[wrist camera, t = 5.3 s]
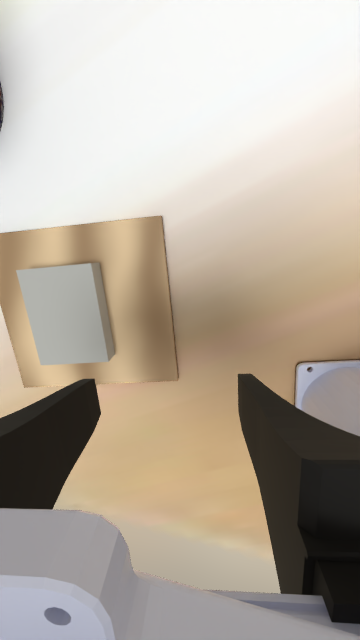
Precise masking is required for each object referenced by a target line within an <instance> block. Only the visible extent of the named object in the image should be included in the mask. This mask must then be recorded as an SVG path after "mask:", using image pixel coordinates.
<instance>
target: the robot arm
mask: <svg viewBox="0 0 360 640" xmlns="http://www.w3.org/2000/svg"><path fill="white" fill-rule="evenodd" d="M308 367H311V369H310V370H307V368H308ZM238 407H239V416H240V422H241V427H242V431H243V435H244V438H245V441H246V444H247V447H248V451H249V454H250V457H251V460H252V463H253V466H254V470H255V473H256V476H257V480H258V483H259V487H260V492H261V496H262V501H263V506H264V510H265V515H266V520H267V525H268V530H269V534H270V539H271V544H272V549H273V555H274V560H275V565H276V570H277V574H278V579H279V586H280V590H281V594H278V593H257V592H238V591H220V590H202V589H198V588H195V587H192V586H188V585H185V584H181V583H178V582H175V581H171V580H168V579H164V578H161V577H158V576H154V575H151V574H147V573H144V572H141V571H137V570H133V568H132V565H131V559H130V554H129V548H128V546H127V543H126V542H125V540H124V538H123V536H122V534H121V532H120V530H119V529H118V527H117V526H116V525H114V524H113V523H112V522H110V521H109V520H107V519H106V518H104V517H103V516H101V515H99V514H95V513H90V512H86V511H81V510H52V509H53V507H54V505H55V502H56V500H57V498H58V496H59V494H60V492H61V489H62V487H63V485H64V483H65V481H66V479H67V477H68V475H69V474H70V472H71V470H72V468H73V467H74V465H75V463H76V462H77V460H78V458H79V456H80V455H81V453H82V451H83V449H84V448H85V446H86V444H87V443H88V441H89V439H90V437H91V435H92V434H93V432H94V430H95V427H96V425H97V422H98V420H99V417H100V415H101V411H100V405H99V400H98V395H97V389H96V384H95V379H81V380H79V381H77V382H74V383H72V384H70V385H68V386H66V387H65V388H63V389H61V390H59V391H57V392H55V393H53V394H51V395H49V396H47V397H46V398H44V399H41V400H39V401H37V402H35V403H33V404H31V405H29V406H27V407H25V408H23V409H21V410H19V411H16V412H14V413H12V414H9V415H7V416H5V417H2V418H0V640H360V360H349V361H329V362H308V363H300V364H298V365H297V368H296V391H295V406H293V405H292V404H290V403H289V402H287V401H286V400H284V399H283V398H281V397H280V396H278V395H277V394H276V393H274V392H273V391H272V390H270V389H269V388H268V387H267V386H265V385H264V384H263V383H262V382H261V381H259V380H258V379H257V378H256V377H255V376H253V375H252V374H238Z"/></svg>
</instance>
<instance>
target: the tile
mask: <svg viewBox="0 0 360 640" xmlns="http://www.w3.org/2000/svg"><path fill="white" fill-rule="evenodd" d="M16 272H17V276H18V280H19V284H20V287H21V291H22V295H23V299H24V303H25V307H26V310H27V314H28V318H29V322H30V326H31V330H32V333H33V337H34V341H35V345H36V349H37V353H38V356H39V360H40V364H41V365H58V364H77V363H95V362H109V361H110V360H111V358H112V357H113V356H114V355H115V351H114V345H113V339H112V333H111V327H110V322H109V316H108V310H107V304H106V298H105V292H104V287H103V281H102V275H101V269H100V263H88V264H77V265H67V266H56V267H46V268H35V269H24V270H16Z"/></svg>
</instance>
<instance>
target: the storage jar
mask: <svg viewBox="0 0 360 640" xmlns="http://www.w3.org/2000/svg"><path fill="white" fill-rule="evenodd" d="M3 109H4V106H3V94H2V88H1V83H0V131H1V126H2V121H3Z"/></svg>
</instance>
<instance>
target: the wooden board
mask: <svg viewBox="0 0 360 640" xmlns="http://www.w3.org/2000/svg"><path fill="white" fill-rule="evenodd" d="M88 263H100V269H101V275H102V281H103V287H104V292H105V298H106V304H107V310H108V316H109V322H110V327H111V333H112V339H113V345H114V351H115V355H114V356H113V357H112V358H111V360H110V361H109V362H95V363H77V364H58V365H41V364H40V360H39V356H38V353H37V349H36V345H35V341H34V337H33V333H32V330H31V326H30V322H29V318H28V314H27V310H26V307H25V303H24V299H23V295H22V291H21V287H20V284H19V280H18V276H17V272H16V270H24V269H35V268H46V267H56V266H67V265H77V264H88ZM0 305H1V308H2V312H3V315H4V319H5V322H6V326H7V329H8V333H9V336H10V340H11V343H12V347H13V350H14V353H15V357H16V360H17V364H18V367H19V371H20V374H21V378H22V381H23V385H24V388H25V387H48V386H68V385H70V384H72V383H74V382H77V381H79V380H81V379H95V384H115V383H138V382H160V381H178V368H177V359H176V349H175V339H174V329H173V320H172V310H171V300H170V290H169V280H168V271H167V261H166V251H165V241H164V231H163V222H162V216H154V217H145V218H136V219H127V220H118V221H109V222H99V223H90V224H81V225H72V226H63V227H54V228H45V229H36V230H27V231H18V232H9V233H0Z"/></svg>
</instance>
